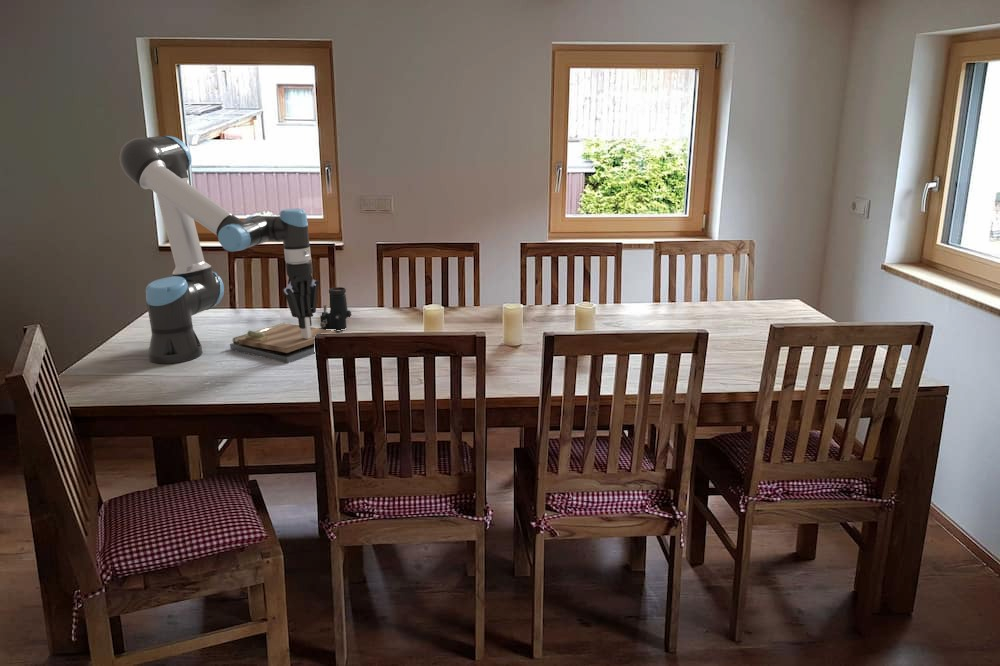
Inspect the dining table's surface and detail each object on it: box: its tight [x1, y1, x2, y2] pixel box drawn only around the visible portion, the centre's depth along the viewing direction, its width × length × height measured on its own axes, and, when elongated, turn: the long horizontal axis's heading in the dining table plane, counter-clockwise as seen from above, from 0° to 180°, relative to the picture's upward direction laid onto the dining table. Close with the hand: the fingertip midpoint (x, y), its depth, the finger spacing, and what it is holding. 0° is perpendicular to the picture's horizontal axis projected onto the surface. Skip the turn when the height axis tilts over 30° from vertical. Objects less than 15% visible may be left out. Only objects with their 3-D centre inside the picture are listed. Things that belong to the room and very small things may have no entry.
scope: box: [319, 286, 352, 330], centre depth 265 cm, size 8×14×10 cm
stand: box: [229, 322, 316, 364], centre depth 249 cm, size 26×22×4 cm
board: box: [238, 323, 337, 353], centre depth 248 cm, size 22×20×4 cm
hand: (306, 337), depth 243 cm, fingers closed
